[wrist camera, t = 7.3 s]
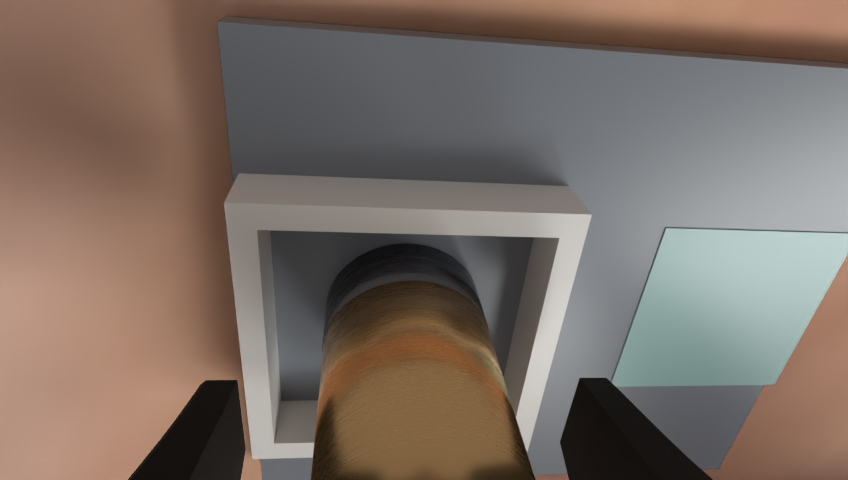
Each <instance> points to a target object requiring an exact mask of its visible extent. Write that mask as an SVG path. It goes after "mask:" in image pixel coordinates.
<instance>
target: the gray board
mask: <svg viewBox="0 0 848 480" xmlns="http://www.w3.org/2000/svg"><path fill="white" fill-rule="evenodd" d="M217 29H218V39H219V49H220V59H221V69H222V79H223V89H224V99H225V109H226V119H227V129H228V139H229V149H230V159H231V169H232V179H233V186H232V188H231V190H230V192H229V194H228V196H227V198H226V199H225V201H224V209H225V218H226V227H227V236H228V245H229V254H230V263H231V272H232V281H233V290H234V299H235V308H236V317H237V326H238V335H239V344H240V353H241V362H242V371H243V380H244V389H245V398H246V407H247V416H248V425H249V434H250V443H251V452H252V459H260V460H261V470H262V480H311V471H312V461H313V450H314V440H315V429H316V418H317V408H318V397H319V387H320V376H321V365H322V355H323V351H322V346H323V335H324V325H325V314H326V304H327V297H328V293H329V290H330V288H331V285H332V283H333V281H334V280H335V278H336V277H337V275H338V274H339V273H340V272H341V270H342V269H343V268H344V267H345V266H346V265H348V264H349V263H350V262H351V261H352V260H354V259H355V258H357V257H358V256H360V255H362V254H364V253H366V252H368V251H370V250H373V249H375V248H378V247H382V246H386V245H392V244H402V243H411V244H421V245H426V246H430V247H433V248H436V249H439V250H441V251H443V252H445V253H447V254H449V255H450V256H452V257H454V258H455V259H456V260H457V261H459V262H460V263H461V264H462V265H463V266H464V267H465V268H466V270H467V271H468V272H469V274H470V276H471V277H472V279H473V281H474V284H475V286H476V289H477V293H478V296H479V299H480V302H481V305H482V308H483V312H484V315H485V318H486V321H487V324H488V329H489V333H490V337H491V340H492V343H493V346H494V349H495V353H496V356H497V359H498V362H499V365H500V369H501V372H502V375H503V378H504V381H505V385H506V388H507V391H508V394H509V397H510V400H511V404H512V407H513V410H514V413H515V416H516V420H517V423H518V426H519V429H520V432H521V436H522V439H523V442H524V445H525V448H526V451H527V455H528V458H529V461H530V464H531V467H532V471H533V474H534V475H556V474H568V473H567V469H566V466H565V461H564V457H563V453H562V449H561V445H560V440H561V437H562V433H563V430H564V427H565V424H566V420H567V417H568V414H569V411H570V407H571V404H572V401H573V398H574V395H575V391H576V388H577V385H578V382H579V378H607V379H608V380H609V381H610V382H611V383H612V384H614V385H615V386H616V387H617V388H618V389H619V390H620V391H621V392H622V393H623V394H624V395H625V396H626V397H627V398H628V399H629V400H630V401H631V402H632V403H633V404H634V405H635V406H636V407H637V408H638V409H639V410H640V411H641V412H642V413H643V414H644V415H645V416H646V417H647V418H648V419H649V420H650V421H651V422H652V423H653V424H654V425H655V426H656V427H657V428H658V429H659V430H660V431H661V432H662V433H663V434H664V435H665V436H666V437H667V438H668V439H669V440H670V441H671V442H672V443H673V444H674V445H675V446H677V447H678V448H679V449H680V450H681V451H682V452H683V453H684V454H685V455H686V456H687V457H688V458H689V459H690V460H691V461H692V462H693V463H695V464H696V465H697V466H698V467H699V468H700V469H701V470H705V469H719V467H720V465H721V464H722V462H723V460H724V458H725V456H726V454H727V453H728V451H729V449H730V447H731V445H732V443H733V442H734V440H735V438H736V436H737V434H738V433H739V431H740V429H741V427H742V425H743V423H744V422H745V420H746V418H747V416H748V414H749V412H750V411H751V409H752V407H753V405H754V403H755V402H756V400H757V398H758V396H759V394H760V392H761V391H762V389H763V387H764V385H775V383H776V381H777V379H778V377H779V376H780V374H781V372H782V370H783V369H784V367H785V365H786V363H787V361H788V360H789V358H790V356H791V354H792V352H793V351H794V349H795V347H796V345H797V344H798V342H799V340H800V338H801V336H802V335H803V333H804V331H805V329H806V327H807V326H808V324H809V322H810V320H811V319H812V317H813V315H814V313H815V311H816V310H817V308H818V306H819V304H820V302H821V301H822V299H823V297H824V295H825V294H826V292H827V290H828V288H829V286H830V285H831V283H832V281H833V279H834V278H835V276H836V274H837V272H838V270H839V269H840V267H841V265H842V263H843V261H844V260H845V258H846V256H847V254H848V63H839V62H825V61H812V60H799V59H786V58H772V57H759V56H746V55H733V54H719V53H706V52H693V51H680V50H667V49H653V48H640V47H627V46H614V45H600V44H587V43H574V42H561V41H547V40H534V39H521V38H508V37H494V36H481V35H468V34H455V33H442V32H428V31H415V30H402V29H389V28H375V27H362V26H349V25H336V24H322V23H309V22H296V21H283V20H269V19H256V18H243V17H230V16H225V17H224V18H222V19H221V20H219V21H218V22H217Z"/></svg>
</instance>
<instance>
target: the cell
mask: <svg viewBox="0 0 848 480" xmlns="http://www.w3.org/2000/svg"><path fill="white" fill-rule="evenodd" d="M322 351H323V355H322V365H321V376H320V387H319V397H318V408H317V418H316V429H315V440H314V450H313V461H312V471H311V480H535V477H534V474H533V471H532V467H531V464H530V461H529V458H528V455H527V451H526V448H525V445H524V442H523V439H522V436H521V432H520V429H519V426H518V423H517V420H516V416H515V413H514V410H513V407H512V404H511V400H510V397H509V394H508V391H507V388H506V385H505V381H504V378H503V375H502V372H501V369H500V365H499V362H498V359H497V356H496V353H495V349H494V346H493V343H492V340H491V337H490V333H489V329H488V324H487V321H486V318H485V315H484V312H483V308H482V305H481V302H480V299H479V296H478V293H477V289H476V286H475V284H474V281H473V279H472V277H471V276H470V274H469V272H468V271H467V270H466V268H465V267H464V266H463V265H462V264H461V263H460V262H459V261H457V260H456V259H455V258H454V257H452V256H450V255H449V254H447V253H445V252H443V251H441V250H439V249H436V248H433V247H430V246H426V245H421V244H411V243H402V244H392V245H386V246H382V247H378V248H375V249H373V250H370V251H368V252H366V253H364V254H362V255H360V256H358V257H357V258H355V259H354V260H352V261H351V262H350V263H349V264H348V265H346V266H345V267H344V268H343V269H342V270H341V272H340V273H339V274H338V275H337V277H336V278H335V280H334V281H333V283H332V285H331V288H330V290H329V293H328V297H327V304H326V314H325V325H324V335H323V346H322Z"/></svg>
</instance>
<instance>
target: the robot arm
mask: <svg viewBox="0 0 848 480" xmlns="http://www.w3.org/2000/svg"><path fill="white" fill-rule="evenodd" d="M560 445H561V449H562V453H563V457H564V461H565V466H566V469H567V473H568V477H569V480H712V479H711V478H710V477H709V476H708V475H707V474H706V473H704V472H703V471H702V470H701V469H700V468H699V467H698V466H697V465H696V464H695V463H693V462H692V461H691V460H690V459H689V458H688V457H687V456H686V455H685V454H684V453H683V452H682V451H681V450H680V449H679V448H678V447H677V446H675V445H674V444H673V443H672V442H671V441H670V440H669V439H668V438H667V437H666V436H665V435H664V434H663V433H662V432H661V431H660V430H659V429H658V428H657V427H656V426H655V425H654V424H653V423H652V422H651V421H650V420H649V419H648V418H647V417H646V416H645V415H644V414H643V413H642V412H641V411H640V410H639V409H638V408H637V407H636V406H635V405H634V404H633V403H632V402H631V401H630V400H629V399H628V398H627V397H626V396H625V395H624V394H623V393H622V392H621V391H620V390H619V389H618V388H617V387H616V386H615V385H614V384H612V383H611V382H610V381H609V380H608V379H607V378H579V382H578V385H577V388H576V391H575V395H574V398H573V401H572V404H571V407H570V411H569V414H568V417H567V420H566V424H565V427H564V430H563V433H562V437H561V440H560ZM244 455H245V442H244V434H243V425H242V417H241V408H240V400H239V391H238V383H237V380H206V381H204V382H203V383H202V384H201V385H200V386H199V388H198V389H197V390H196V392H195V393H194V395H193V396H192V398H191V399H190V400H189V402H188V403H187V405H186V406H185V407H184V409H183V410H182V412H181V413H180V414H179V416H178V417H177V418H176V420H175V421H174V422H173V424H172V425H171V426H170V428H169V429H168V430H167V432H166V433H165V434H164V436H163V437H162V438H161V439H160V441H159V442H158V443H157V444H156V446H155V447H154V448H153V449H152V451H151V452H150V453H149V454H148V456H147V457H146V458H145V459H144V461H143V462H142V463H141V464H140V466H139V467H138V468H137V469H136V471H135V472H134V473H133V474H132V475H131V477H130V478H129V479H128V480H240V479H241V473H242V467H243V461H244Z"/></svg>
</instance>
